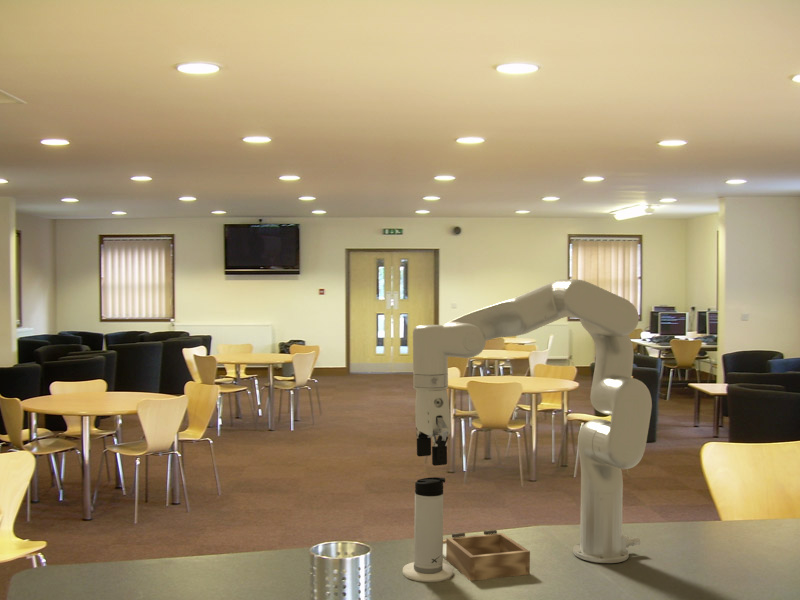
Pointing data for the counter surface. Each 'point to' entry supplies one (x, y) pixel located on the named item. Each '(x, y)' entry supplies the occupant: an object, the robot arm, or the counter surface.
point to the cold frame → (486, 555)
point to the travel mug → (428, 525)
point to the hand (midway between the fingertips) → (431, 460)
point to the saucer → (417, 576)
